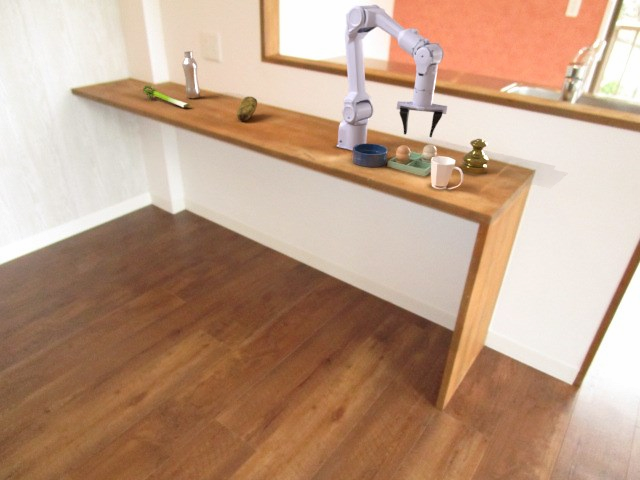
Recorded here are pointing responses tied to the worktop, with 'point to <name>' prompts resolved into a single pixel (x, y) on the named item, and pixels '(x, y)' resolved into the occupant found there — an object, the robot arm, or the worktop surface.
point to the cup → (443, 171)
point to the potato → (246, 108)
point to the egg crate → (412, 165)
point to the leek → (162, 96)
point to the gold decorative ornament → (475, 158)
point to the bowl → (369, 155)
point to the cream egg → (428, 153)
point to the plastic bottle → (191, 75)
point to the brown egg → (403, 154)
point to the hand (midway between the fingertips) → (417, 134)
